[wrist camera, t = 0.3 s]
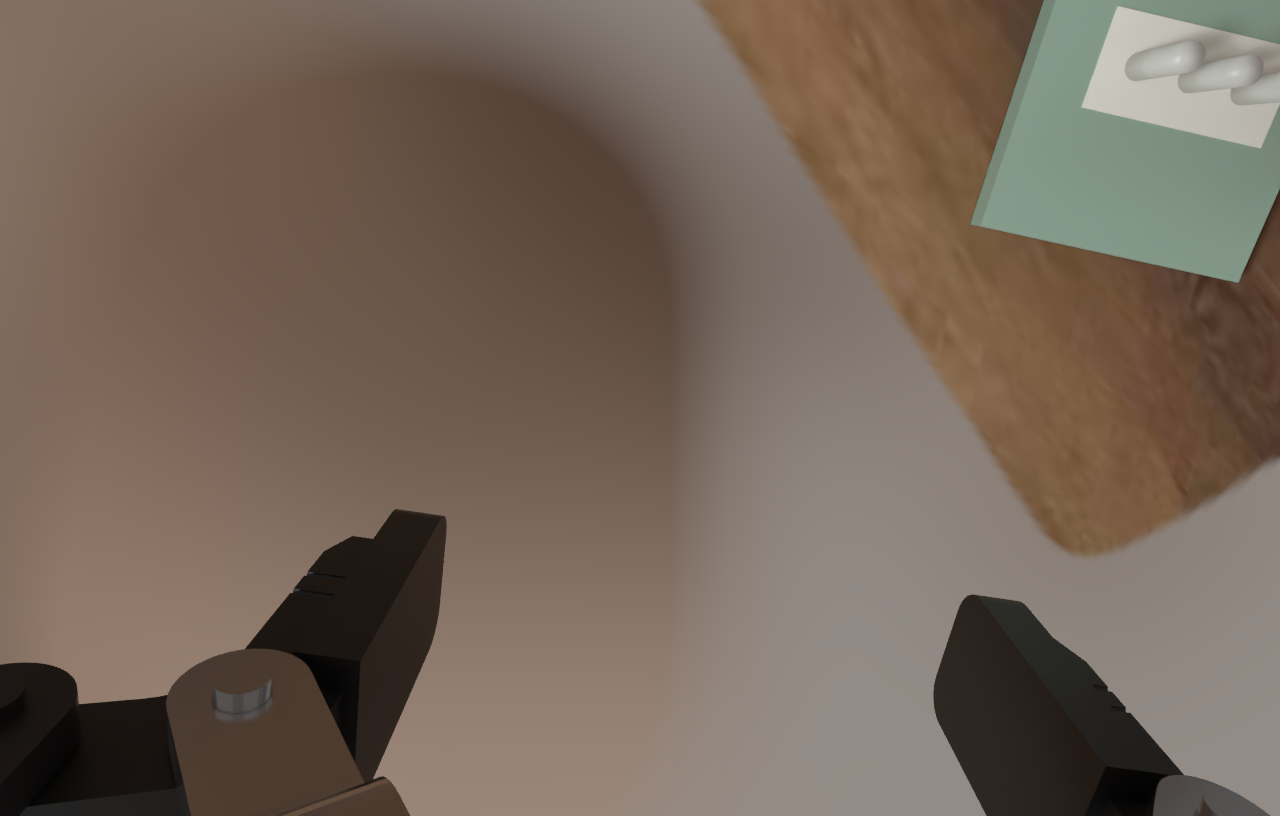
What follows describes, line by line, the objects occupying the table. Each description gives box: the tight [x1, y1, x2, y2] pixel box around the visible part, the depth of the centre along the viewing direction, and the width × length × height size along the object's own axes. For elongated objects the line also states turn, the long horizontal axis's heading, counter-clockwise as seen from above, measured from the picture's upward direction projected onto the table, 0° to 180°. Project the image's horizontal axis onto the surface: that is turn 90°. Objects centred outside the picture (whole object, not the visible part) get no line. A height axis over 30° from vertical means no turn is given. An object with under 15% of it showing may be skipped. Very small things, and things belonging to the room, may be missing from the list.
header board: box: [970, 0, 1280, 283], centre depth 33 cm, size 16×13×5 cm
